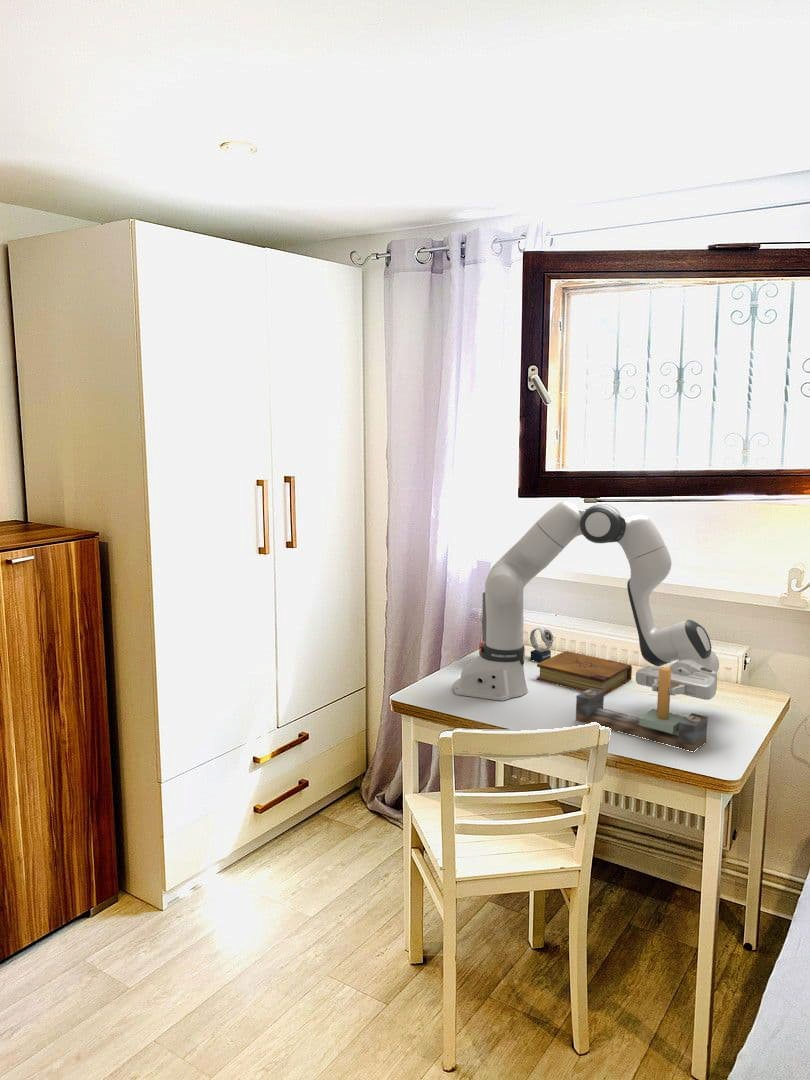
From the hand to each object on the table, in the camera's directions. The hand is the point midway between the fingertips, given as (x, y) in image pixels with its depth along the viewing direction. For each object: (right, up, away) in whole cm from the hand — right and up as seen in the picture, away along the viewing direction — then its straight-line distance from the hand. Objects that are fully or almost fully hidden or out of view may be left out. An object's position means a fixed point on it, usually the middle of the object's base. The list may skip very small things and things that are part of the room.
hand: (662, 690), depth 212 cm
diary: (-10, -6, +47) cm, 49 cm away
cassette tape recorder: (-34, -3, +64) cm, 73 cm away
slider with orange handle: (+1, -9, +2) cm, 10 cm away
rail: (-4, -12, +7) cm, 15 cm away
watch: (-20, -2, +68) cm, 71 cm away
